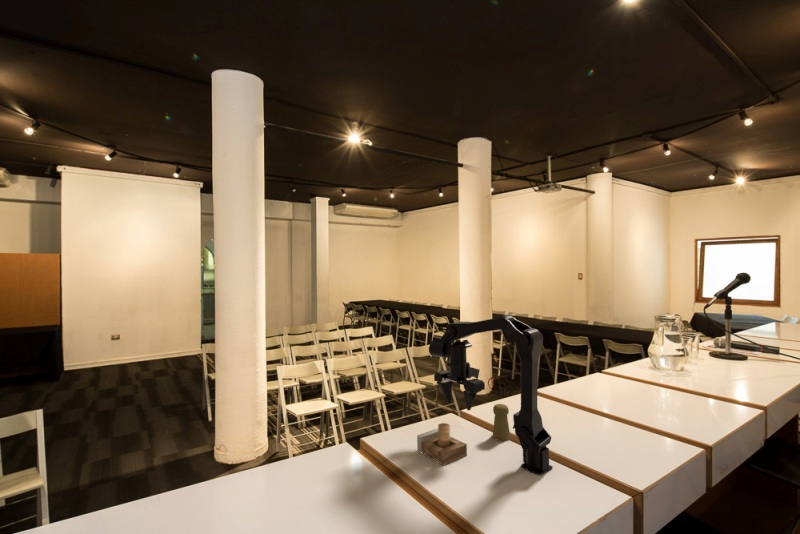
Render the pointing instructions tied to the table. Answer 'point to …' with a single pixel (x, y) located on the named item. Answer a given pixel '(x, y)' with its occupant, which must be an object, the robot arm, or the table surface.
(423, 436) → the wall
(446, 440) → the dowel
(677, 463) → the table surface
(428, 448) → the socket block
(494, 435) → the cork
